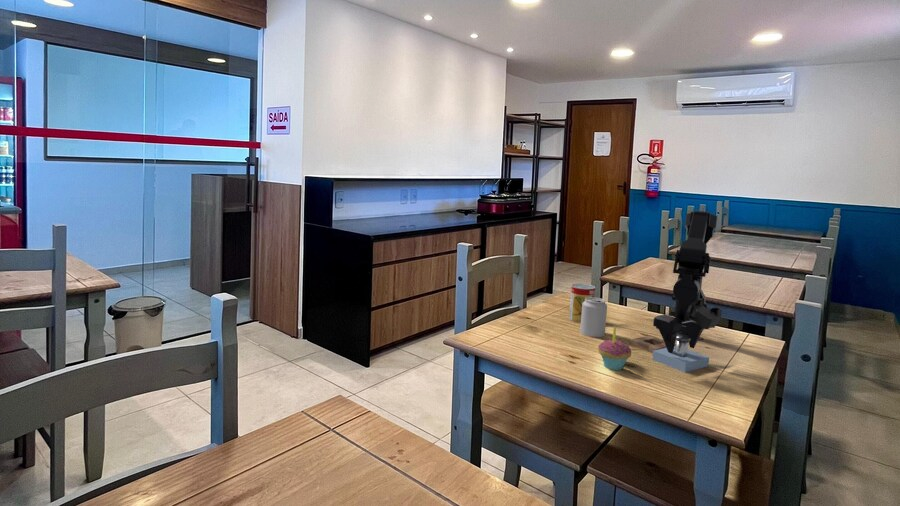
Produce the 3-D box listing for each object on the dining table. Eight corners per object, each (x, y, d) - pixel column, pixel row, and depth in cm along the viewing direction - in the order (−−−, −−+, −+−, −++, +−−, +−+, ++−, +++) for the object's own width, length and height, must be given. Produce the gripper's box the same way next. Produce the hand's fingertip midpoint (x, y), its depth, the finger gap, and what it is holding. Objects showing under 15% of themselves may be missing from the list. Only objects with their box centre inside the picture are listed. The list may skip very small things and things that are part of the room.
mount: (649, 343, 162) (650, 335, 162) (675, 352, 155) (676, 344, 154) (629, 347, 158) (630, 339, 157) (654, 357, 150) (655, 348, 150)
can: (605, 341, 163) (608, 303, 161) (580, 338, 164) (583, 301, 162) (603, 333, 170) (606, 297, 168) (579, 331, 171) (582, 295, 169)
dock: (675, 357, 151) (676, 345, 150) (707, 369, 143) (709, 357, 142) (651, 362, 146) (653, 350, 145) (684, 376, 137) (685, 363, 137)
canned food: (594, 323, 181) (597, 289, 179) (571, 322, 181) (574, 288, 179) (589, 317, 189) (592, 283, 187) (567, 316, 189) (569, 283, 187)
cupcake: (624, 375, 136) (629, 330, 134) (592, 367, 141) (595, 324, 139) (633, 365, 144) (637, 322, 142) (601, 358, 148) (605, 316, 146)
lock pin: (677, 360, 147) (681, 333, 145) (690, 365, 144) (693, 337, 142) (669, 363, 145) (672, 335, 143) (681, 367, 142) (684, 339, 140)
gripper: (693, 305, 129) (686, 366, 132) (737, 297, 139) (730, 354, 141) (654, 294, 139) (648, 352, 141) (698, 288, 148) (692, 341, 151)
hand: (681, 350), depth 143 cm, fingers open, 9 cm apart
